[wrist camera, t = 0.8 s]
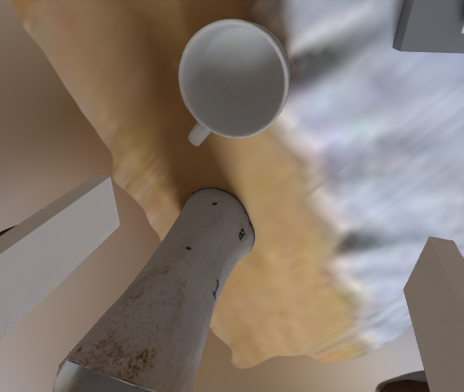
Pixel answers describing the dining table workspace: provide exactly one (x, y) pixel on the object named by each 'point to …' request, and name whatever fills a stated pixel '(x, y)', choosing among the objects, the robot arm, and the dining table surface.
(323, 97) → the dining table surface
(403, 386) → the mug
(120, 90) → the dining table surface
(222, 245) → the vase
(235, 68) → the teacup
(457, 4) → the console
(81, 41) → the dining table surface
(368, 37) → the dining table surface
